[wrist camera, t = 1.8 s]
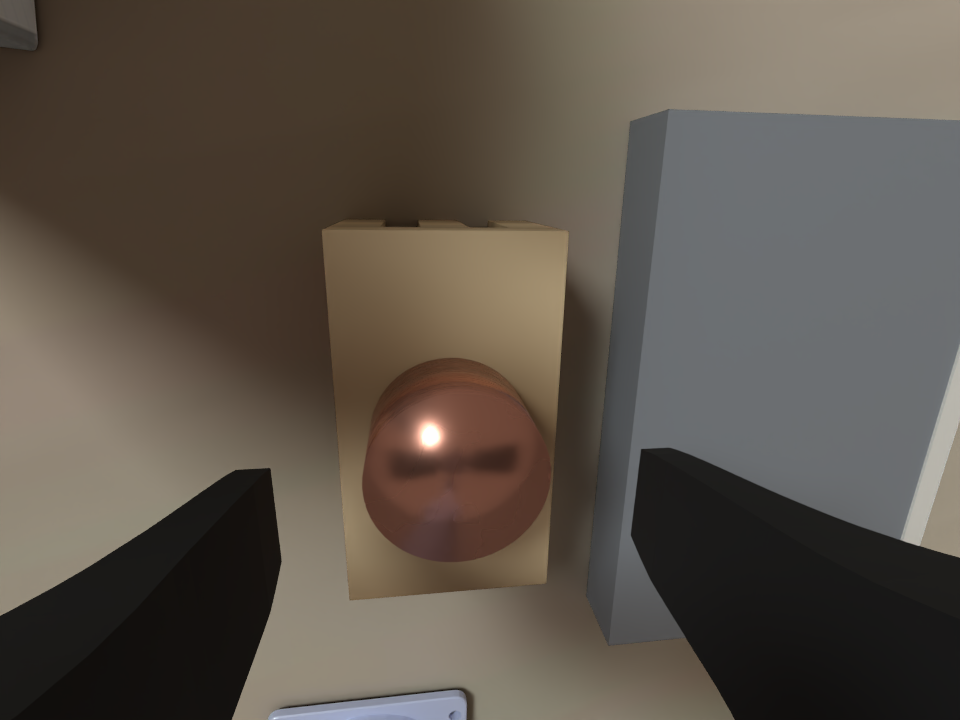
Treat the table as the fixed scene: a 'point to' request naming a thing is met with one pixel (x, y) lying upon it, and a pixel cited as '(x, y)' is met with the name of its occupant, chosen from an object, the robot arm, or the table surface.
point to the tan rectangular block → (433, 335)
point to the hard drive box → (18, 24)
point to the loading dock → (780, 324)
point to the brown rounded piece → (453, 462)
